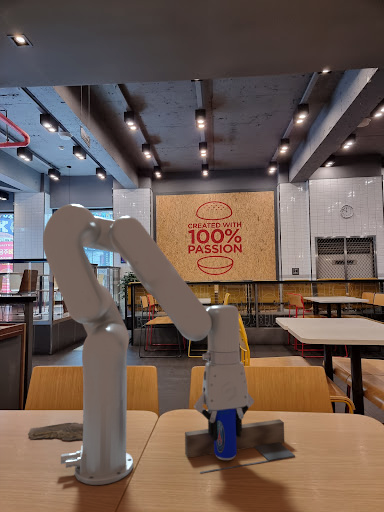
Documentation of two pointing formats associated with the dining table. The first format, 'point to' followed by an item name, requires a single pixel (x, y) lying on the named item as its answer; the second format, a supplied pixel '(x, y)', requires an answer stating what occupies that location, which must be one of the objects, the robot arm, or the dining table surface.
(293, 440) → the dining table surface
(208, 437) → the guide fence
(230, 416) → the beverage can
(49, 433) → the wooden fragment
